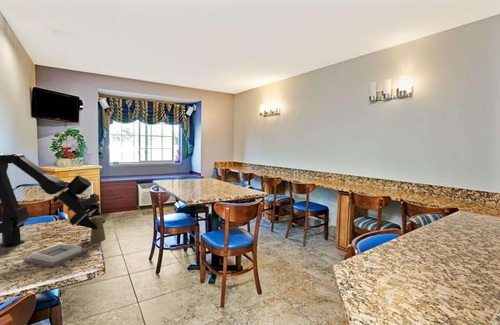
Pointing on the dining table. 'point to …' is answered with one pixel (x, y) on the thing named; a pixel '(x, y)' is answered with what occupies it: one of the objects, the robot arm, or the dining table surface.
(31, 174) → the robot arm
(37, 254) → the grey square tray
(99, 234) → the olive tapered shaker
